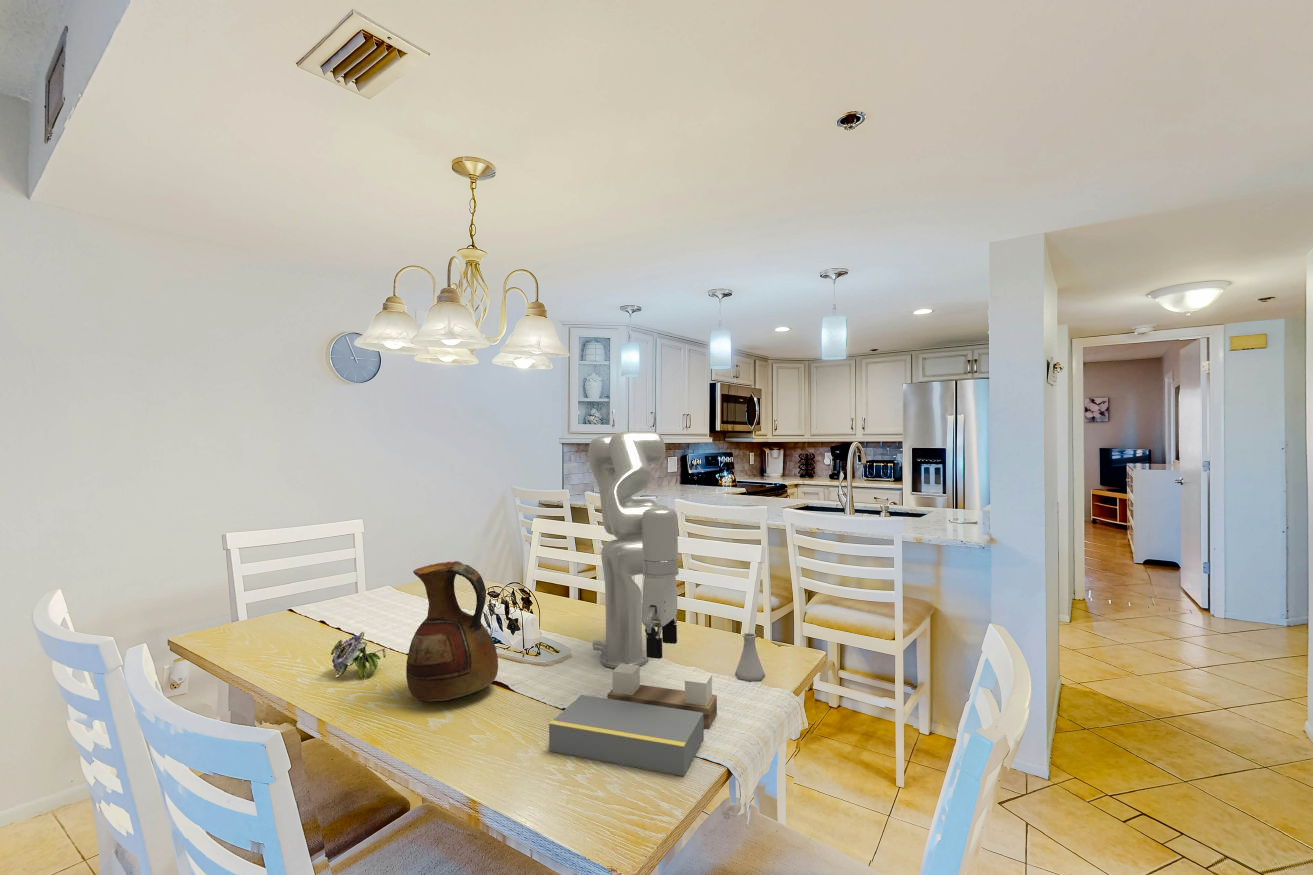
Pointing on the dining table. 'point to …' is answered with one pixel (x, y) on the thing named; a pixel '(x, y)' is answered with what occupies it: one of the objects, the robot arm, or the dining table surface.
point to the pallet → (668, 701)
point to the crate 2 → (698, 689)
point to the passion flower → (354, 656)
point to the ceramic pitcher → (450, 639)
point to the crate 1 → (626, 679)
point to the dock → (628, 734)
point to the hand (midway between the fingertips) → (662, 650)
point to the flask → (749, 661)
